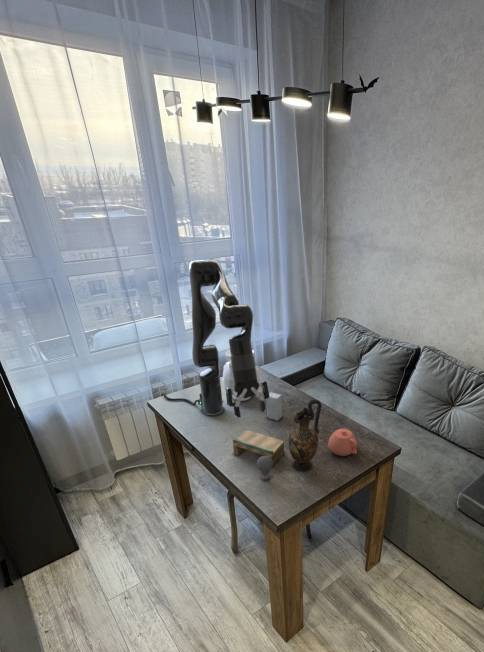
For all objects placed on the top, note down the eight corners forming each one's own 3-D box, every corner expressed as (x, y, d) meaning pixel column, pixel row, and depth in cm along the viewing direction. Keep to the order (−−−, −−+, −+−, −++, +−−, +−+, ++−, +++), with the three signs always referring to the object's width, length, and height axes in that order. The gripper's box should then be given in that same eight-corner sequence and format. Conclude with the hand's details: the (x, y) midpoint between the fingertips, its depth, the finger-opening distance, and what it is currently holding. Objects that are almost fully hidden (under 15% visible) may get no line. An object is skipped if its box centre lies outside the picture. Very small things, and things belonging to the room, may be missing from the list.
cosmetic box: (282, 416, 189) (282, 394, 183) (277, 421, 186) (277, 399, 180) (271, 413, 191) (270, 391, 185) (266, 417, 188) (265, 395, 182)
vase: (285, 458, 162) (285, 395, 147) (315, 454, 165) (317, 391, 150) (291, 477, 153) (291, 411, 137) (322, 472, 156) (325, 407, 141)
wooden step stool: (234, 454, 163) (232, 439, 160) (247, 441, 171) (246, 426, 168) (272, 466, 158) (271, 451, 154) (284, 452, 166) (284, 438, 162)
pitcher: (249, 408, 194) (246, 362, 181) (217, 401, 199) (212, 355, 186) (267, 392, 209) (266, 348, 196) (237, 385, 214) (233, 341, 202)
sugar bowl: (341, 438, 176) (343, 418, 171) (365, 452, 168) (367, 433, 163) (321, 449, 169) (322, 429, 164) (345, 465, 160) (347, 444, 155)
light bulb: (258, 472, 154) (256, 452, 149) (273, 472, 155) (273, 452, 150) (257, 483, 149) (255, 462, 144) (273, 483, 150) (272, 462, 144)
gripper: (259, 362, 137) (265, 407, 142) (219, 369, 131) (227, 416, 135) (268, 364, 131) (274, 411, 135) (226, 372, 124) (234, 421, 128)
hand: (250, 414), depth 135 cm, fingers open, 8 cm apart
